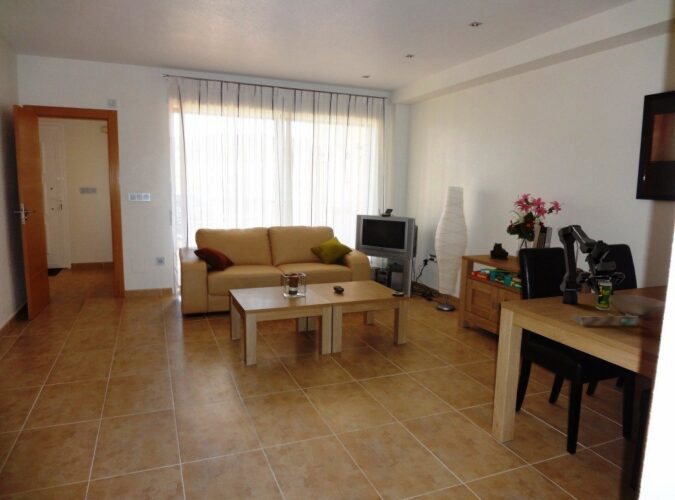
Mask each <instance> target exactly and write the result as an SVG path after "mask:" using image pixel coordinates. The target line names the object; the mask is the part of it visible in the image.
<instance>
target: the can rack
mask: <svg viewBox="0 0 675 500" xmlns="http://www.w3.org/2000/svg"><path fill="white" fill-rule="evenodd" d="M571 320H572V321H574V322H575V323H577V324H578V325H580V326H582V327H583V326H588V327H589V326H590V327H591V326H593V327H594V326H597V327H599V326H638V325H639V324H638V323H639V316H638V315H631V314H629V313H625V314H624V315H614V314H612V313H607V315H602V316H601V315H596V314H595V313H590V315H589V316H588V315H586V316H585V315H582V316H581V315H579V314H577V313H573V314H572V316H571Z"/></svg>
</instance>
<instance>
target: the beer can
mask: <svg viewBox="0 0 675 500" xmlns="http://www.w3.org/2000/svg"><path fill="white" fill-rule="evenodd" d="M597 286H598V289H599V292H600V295H597V294H596V301H595V307H596V309H598V310H601V311H609V310H610V308H611V299H612V295H611V291H612V282H609V281H607V280H598V283H597Z"/></svg>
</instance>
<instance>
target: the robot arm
mask: <svg viewBox="0 0 675 500" xmlns="http://www.w3.org/2000/svg"><path fill="white" fill-rule="evenodd" d="M557 237H558V238H559V239H558V240H559V242H560V243H561V244H562V246H563V252H564V254H563V255H564V261H565V263H564V264H565V270H566V271H565V275H564V276H563V278H562V279H563V281H562V282H561V284H560V285H559V289H560V291H562V293H563V294H562V304H569V305H577V304H578V303H579V293H581V292H582V290H583V285H585V286H586V287H588V288H589V289H591V290H592V291H593V293H595V294H596V296H597V295H600V292H599V289H598V283H597V281H609V282H612V291H611V296H613V295H614V291H615V285H619V284H621V283H622V282H623V281H624V280H625V278H626V275H625V273H624V272H613V273H612V274H611V275H609V273H610V271H613V270H615V269H616V268H617V266H616V263H615V261H609V262H603V261H602V260H603V259H604V258H605V257H606V256H607V255H608V253H609V252H610V250H611V246H610V245H609V244H608V243H607V242H604V241H603V240H602V239H601V240H599V239H598V240H595V239H593V238H590V237H589V236H588V234H586V232H585V231H584V230H583V229H582V226H581V225H579V224H570V225H568V226H565V227H561V228H560V229H559V230H558V231H557ZM576 241H577V243H578V244H579V251H580V252H581V253H582V254H584V255H585V254H586V256H585V259H584V262H586V263H587V265H588V271H587V272H582V271H581V272H578V268H577V262H576V259H577V258H576V251H575V243H576Z"/></svg>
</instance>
